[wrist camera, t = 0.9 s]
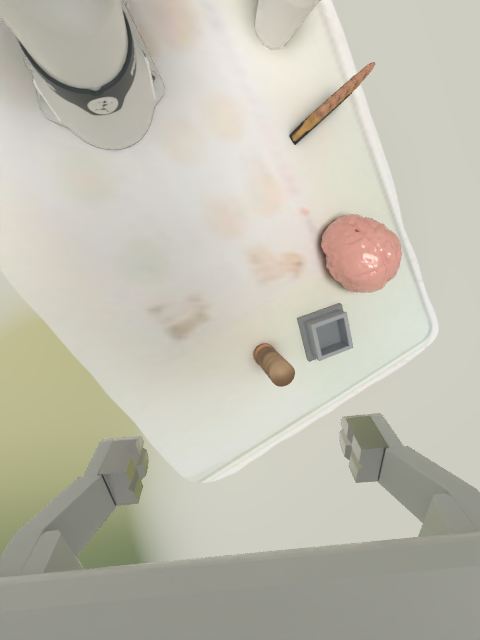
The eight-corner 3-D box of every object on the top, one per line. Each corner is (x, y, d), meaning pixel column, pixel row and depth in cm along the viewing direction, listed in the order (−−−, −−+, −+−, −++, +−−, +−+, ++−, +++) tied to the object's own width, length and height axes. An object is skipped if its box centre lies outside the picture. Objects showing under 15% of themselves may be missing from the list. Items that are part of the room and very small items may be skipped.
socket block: (297, 318, 59) (305, 322, 56) (339, 303, 61) (349, 306, 57) (307, 360, 62) (316, 366, 58) (347, 344, 64) (358, 350, 60)
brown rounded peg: (251, 347, 59) (267, 367, 48) (271, 340, 59) (291, 358, 49) (256, 367, 60) (274, 390, 49) (276, 359, 60) (297, 381, 50)
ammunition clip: (294, 145, 52) (328, 113, 40) (288, 136, 51) (321, 101, 40) (337, 106, 52) (382, 64, 41) (331, 97, 51) (376, 52, 40)
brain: (301, 250, 61) (315, 224, 49) (349, 217, 61) (374, 184, 49) (346, 310, 59) (372, 299, 47) (395, 276, 60) (432, 257, 48)
